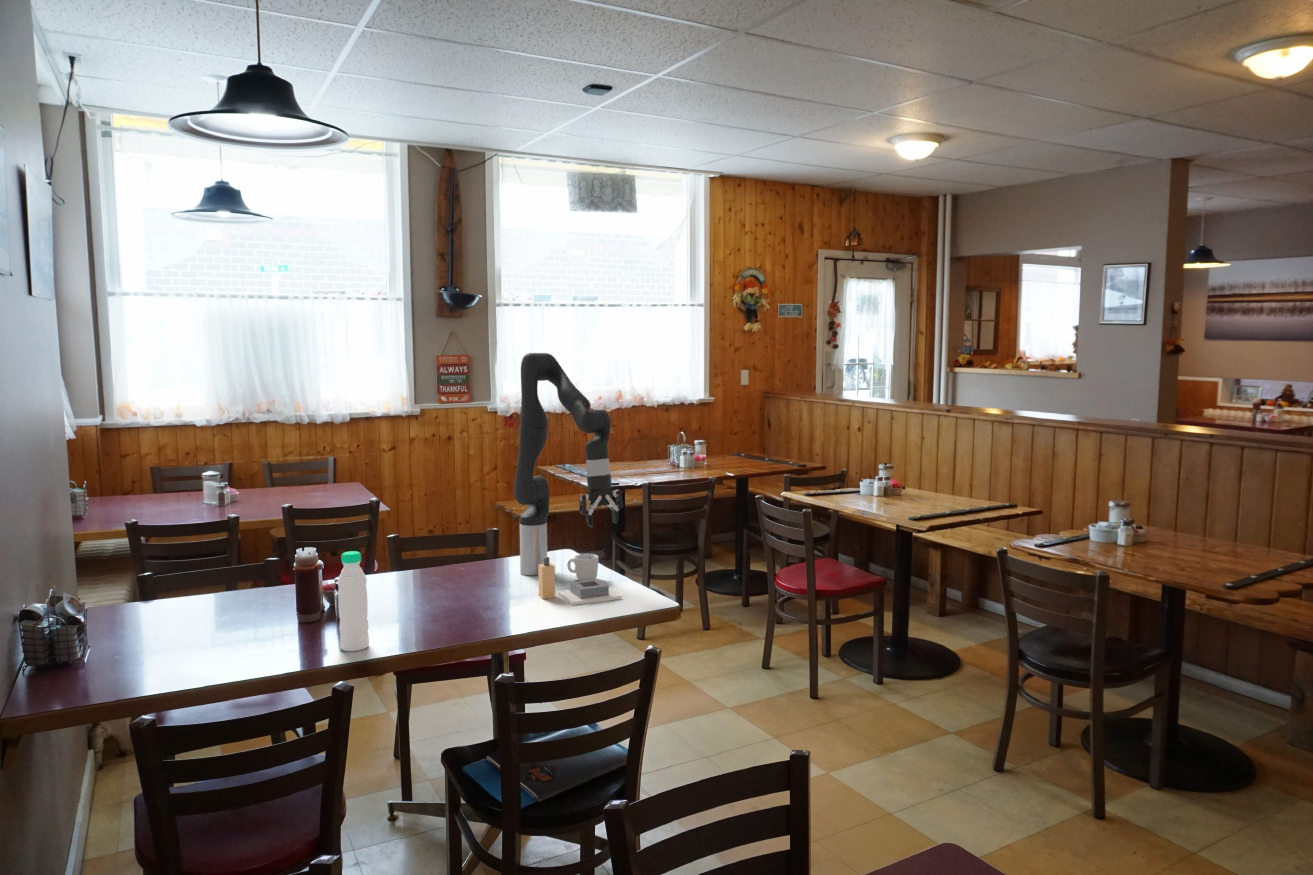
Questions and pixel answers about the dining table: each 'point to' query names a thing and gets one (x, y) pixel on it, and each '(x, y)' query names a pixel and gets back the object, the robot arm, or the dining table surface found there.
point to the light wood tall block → (546, 579)
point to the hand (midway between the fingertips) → (603, 525)
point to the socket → (588, 592)
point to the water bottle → (352, 604)
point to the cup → (585, 566)
